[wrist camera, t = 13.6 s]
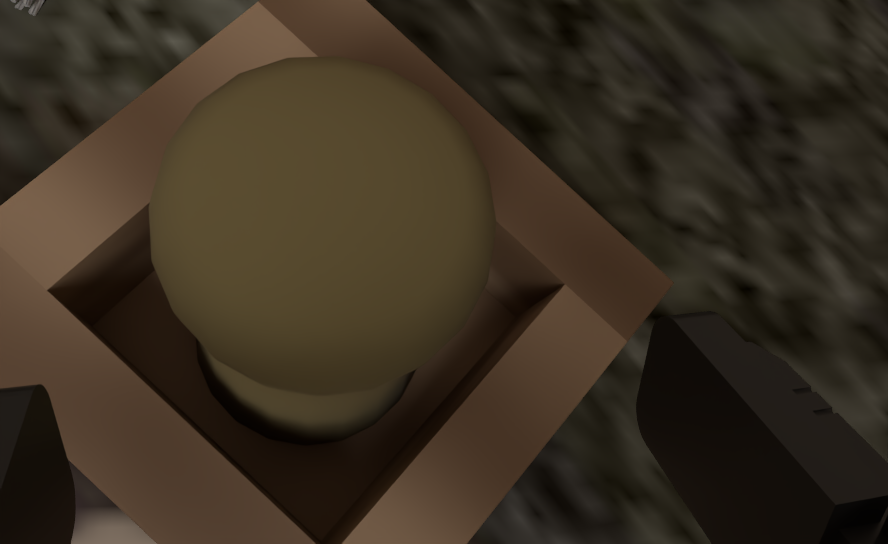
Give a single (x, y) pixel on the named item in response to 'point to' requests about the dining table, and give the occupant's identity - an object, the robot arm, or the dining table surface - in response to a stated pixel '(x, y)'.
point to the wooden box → (174, 347)
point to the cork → (320, 241)
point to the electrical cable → (35, 7)
